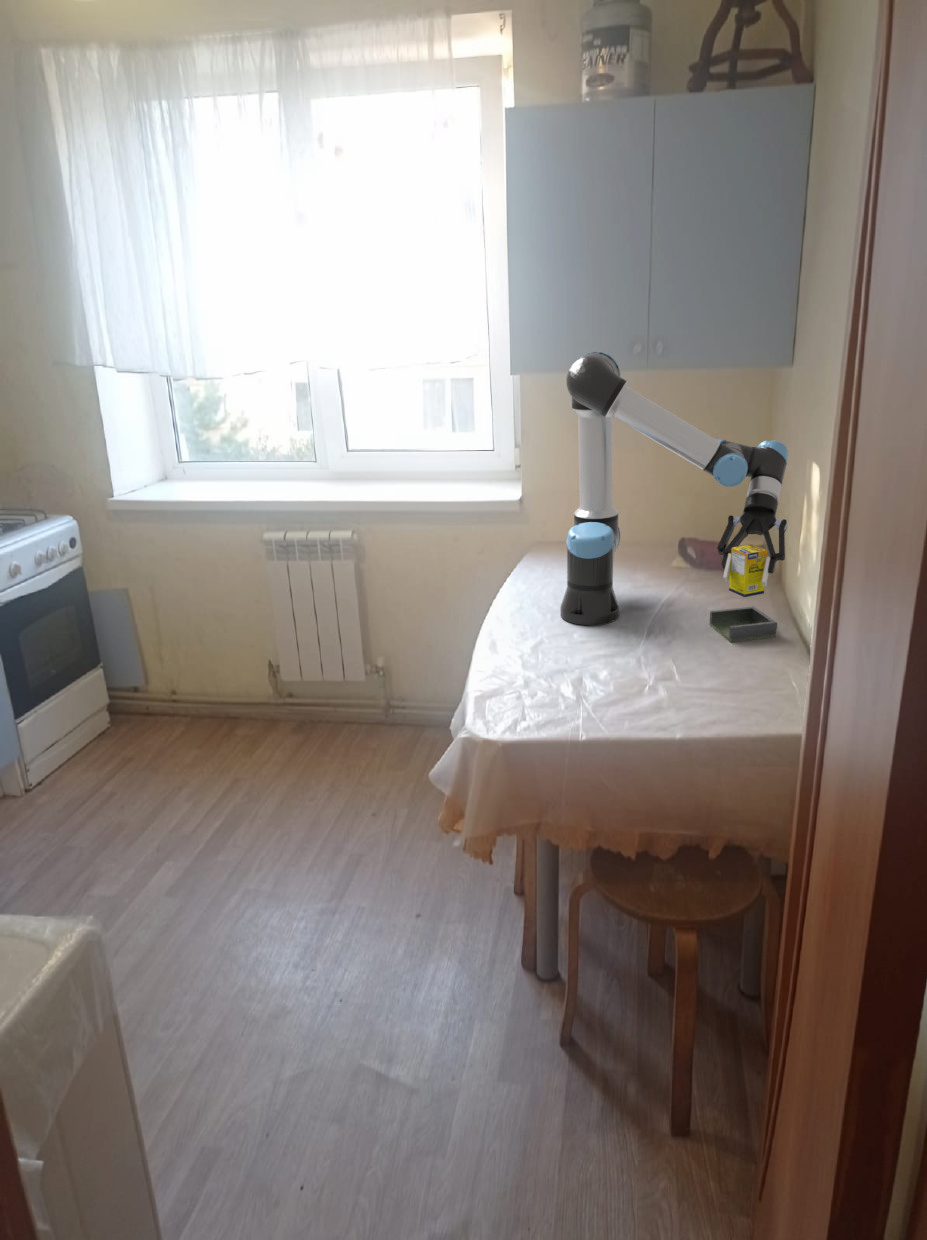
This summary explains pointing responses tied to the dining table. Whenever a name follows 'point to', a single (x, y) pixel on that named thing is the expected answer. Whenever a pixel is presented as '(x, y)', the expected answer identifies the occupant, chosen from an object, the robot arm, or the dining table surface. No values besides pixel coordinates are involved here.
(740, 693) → the dining table surface
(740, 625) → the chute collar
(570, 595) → the robot arm
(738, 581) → the supplement box
